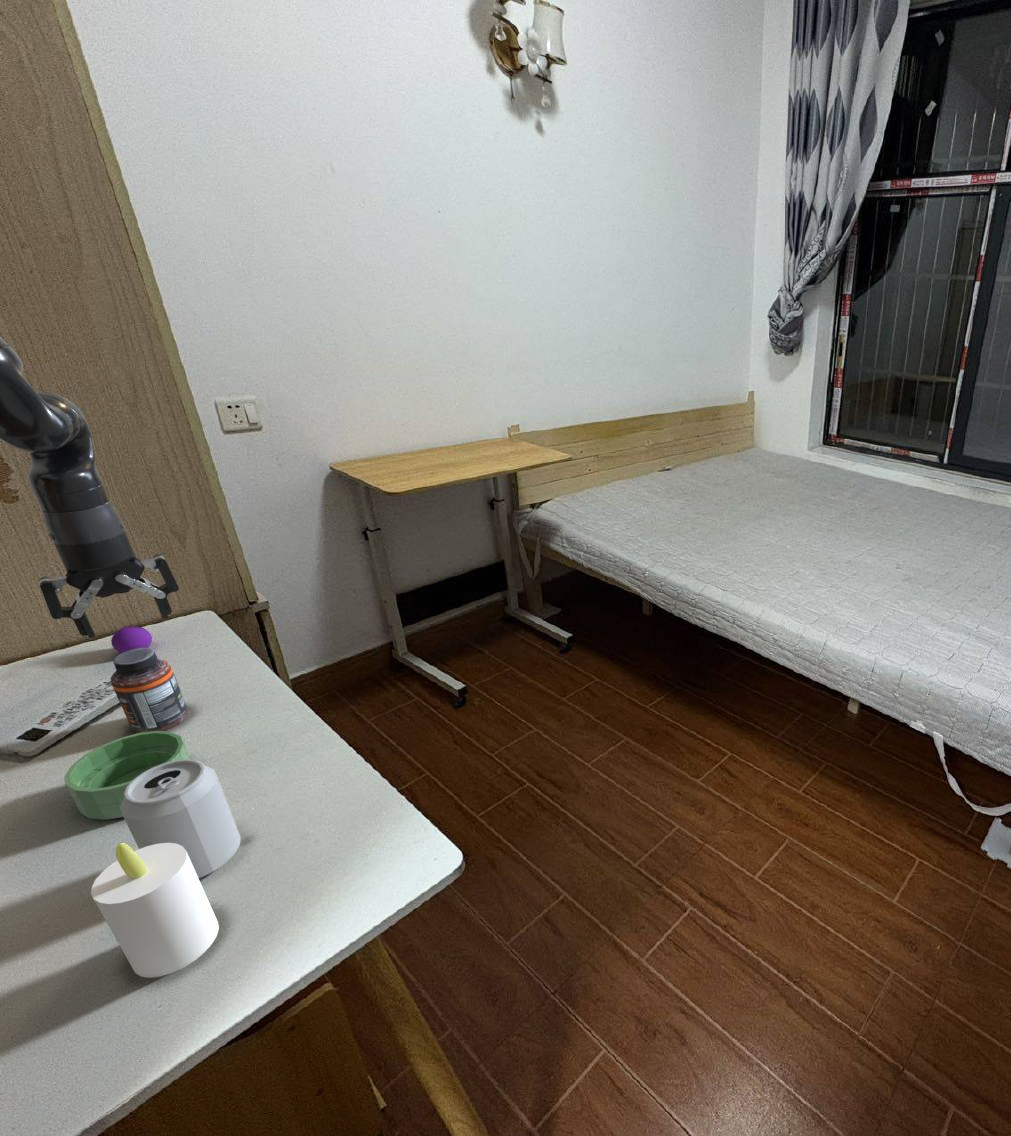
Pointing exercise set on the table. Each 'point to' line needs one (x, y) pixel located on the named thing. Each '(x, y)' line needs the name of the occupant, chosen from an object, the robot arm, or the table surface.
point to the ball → (131, 639)
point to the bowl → (118, 770)
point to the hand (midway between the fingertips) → (129, 626)
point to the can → (182, 813)
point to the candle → (156, 908)
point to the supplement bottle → (148, 691)
